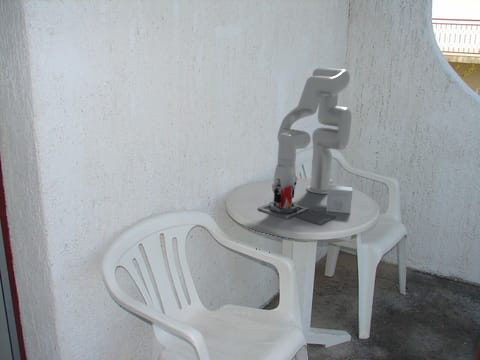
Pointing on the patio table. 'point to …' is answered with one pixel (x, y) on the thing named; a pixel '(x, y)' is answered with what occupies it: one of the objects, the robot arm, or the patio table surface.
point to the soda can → (285, 197)
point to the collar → (283, 210)
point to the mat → (316, 217)
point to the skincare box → (339, 199)
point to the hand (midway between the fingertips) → (283, 199)
